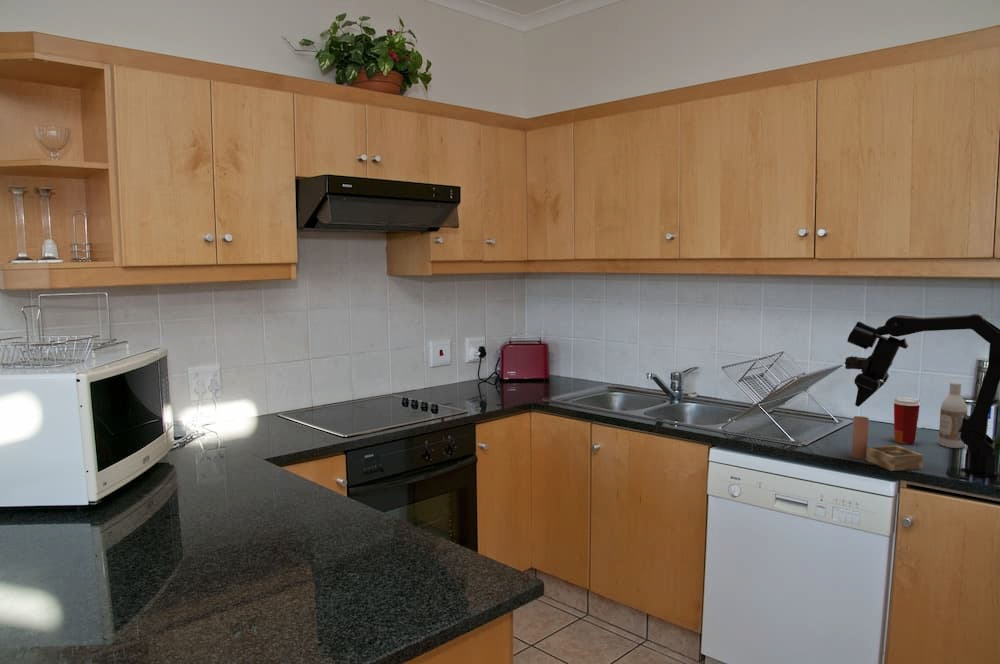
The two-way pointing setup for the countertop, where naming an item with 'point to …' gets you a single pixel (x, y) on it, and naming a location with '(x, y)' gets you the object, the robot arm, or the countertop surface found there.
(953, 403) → the bath foam
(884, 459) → the box
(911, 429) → the paper cup
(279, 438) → the countertop surface
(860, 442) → the peg
